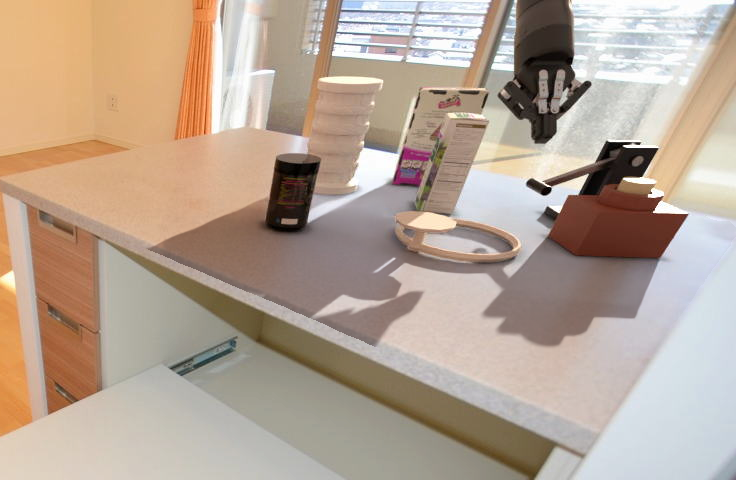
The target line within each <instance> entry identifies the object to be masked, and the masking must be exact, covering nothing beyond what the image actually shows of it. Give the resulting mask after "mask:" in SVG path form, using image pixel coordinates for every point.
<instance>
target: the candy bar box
mask: <svg viewBox="0 0 736 480" xmlns="http://www.w3.org/2000/svg"><path fill="white" fill-rule="evenodd" d="M489 94H490V91H489V89H488V88H487V87H486V88H485V87H484V88H483V87H441V86H440V87H439V86H438V87H435V86H433V87H429V86H428V87H427V86H425V87H424V86H421V87H419V88H418V91H417V95H416V98H415V101H414V105H413V108H412V112H411V115H410V118H409V121H408V125H407V129H406V132H405V135H404V139H403V142H402V145H401V149H400V152H399V155H398V158H397V162H396V166H395V170H394V172H393V177H392V185H394V186H405V187H418V188H419V187H420V184H421V181H422V178H423V176H424V173H425V170H426V167H427V164H428V162H429V159H430V156H431V153H432V151H433V148H434V145H435V142H436V140H437V137H438V134H439V131H440V129H441V126H442V123H443V120H444V117H445V115H446V113H472V114H478V115H483V111H484V108H485V105H486V103H487V101H488V99H489V98H488V97H489Z"/></svg>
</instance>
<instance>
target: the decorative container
mask: <svg viewBox="0 0 736 480" xmlns="http://www.w3.org/2000/svg"><path fill="white" fill-rule="evenodd" d="M383 84H384V80H383V79H381V78H377V77H369V76H367V77H366V76H347V75H345V76H342V75H341V76H325V77H320V78H318V81H317V85H316V89H318V90H320V91H319V95H318V100H316V103H315V104H314V111H315V113H314V119H312V121H311V123H310V124H311V125H310V130H311V133H310V137H309V138H308V141H307V146H306V147H307V152H306V154H310V155H315V156H318V157H320V158H321V163H320V168H319V172H318V176H317V180H316V185H315V189H314V194H319V195H333V196H334V195H347V194H351V193H354V192H356V190H357V189H358V185H359V180H358V179H357V178H355V175H356V171H357V170H358V168H359V166H360V155H361V152H362V151H363V149H364V147H365V141H364V140H365V136H366V134H367V132H368V131H369V128H370V117H371V114H372V113H373V112H374V110H375V105H376V104H375V99H376V94H377V92H379V91H381V90H382V88H383Z"/></svg>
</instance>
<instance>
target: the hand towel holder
mask: <svg viewBox="0 0 736 480" xmlns="http://www.w3.org/2000/svg"><path fill="white" fill-rule="evenodd" d="M394 220H395V222H396V223H397V224H398V226H396V229H395V234H396V237H397V240H399V241H400V243H402V244H403V245H405V246H406V247H407V248H408V250H409V251H410V252H414V253H419V252H420V253H423V254H425V255H429V256H433V257H436V258H441V259H445V260H452V261H457V262H467V263H497V262H504V261H505V262H506V261H508V260H511V259H513V258H514V257H516V256H517V255H518V254H520V253H521V252H522V242H521V241H520V239H519V238H518V237H517V236H516V235H514V234H512V233H510V232H509V231H507V230H504V229H501V228H499V227H496V226H493V225H490V224H486V223H484V222H483V223H482V222H479V221H473V220H469V219H463V218H462V219H460V218H453V217H449V216H447V215H443V214H440V213H433V212H420V211H417V210H408V211H404V212H403V211H402V212H397V213H396V214H395V216H394ZM456 227H458V228H464V229H469V230H473V231H478V232H482V233H485V234H487V235H491V236H494V237H496V238H498V239H501V240H503V241H505V242H506V243H508V244H510V245H511V247H512V249H511V250H508V251H505V252H498V253H474V252H473V253H470V252H461V251H455V250H449V249H444V248H440V247H435V246H432V245H429V244H426V243H424V241H425V238H426V236H427V233H432V234H439V233H447V232H450V231H452V230H453V229H455V228H456ZM405 229H408V230H412V231H414V234H413V237H410V236H408V235H407V234H406V233H405V232H404V230H405Z"/></svg>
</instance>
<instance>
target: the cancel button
mask: <svg viewBox="0 0 736 480" xmlns="http://www.w3.org/2000/svg"><path fill="white" fill-rule="evenodd" d="M656 185H657V181H656V180H654V179H650V178H647V177H642V178H641V177H624V178H623V179H622V181H621V183H620V184H619V186H618V188H617V190H618V191H621V192H625V193H631V194H638V195H649V194H650V192H651V191H652V189H654V187H655V186H656Z"/></svg>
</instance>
